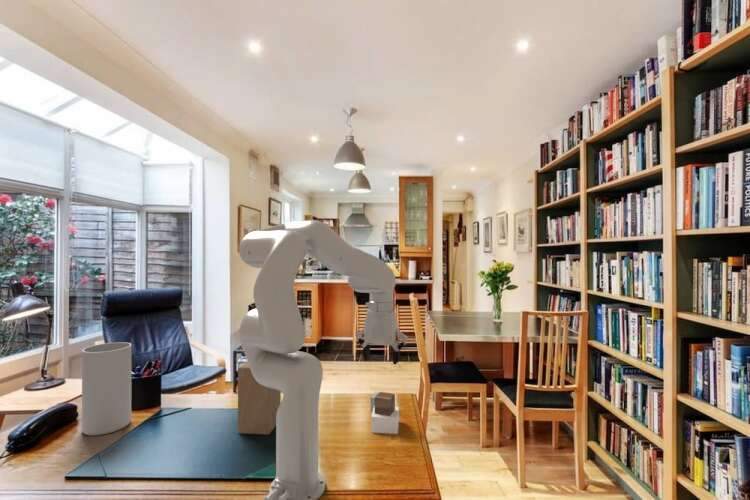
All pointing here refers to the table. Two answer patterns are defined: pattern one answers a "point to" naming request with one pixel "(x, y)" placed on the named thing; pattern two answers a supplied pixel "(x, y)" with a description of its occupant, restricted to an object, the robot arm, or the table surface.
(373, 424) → the off-white block
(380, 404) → the walnut cube
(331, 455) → the table surface
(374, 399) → the slate-grey cube
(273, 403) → the wooden block
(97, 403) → the cylinder vase
